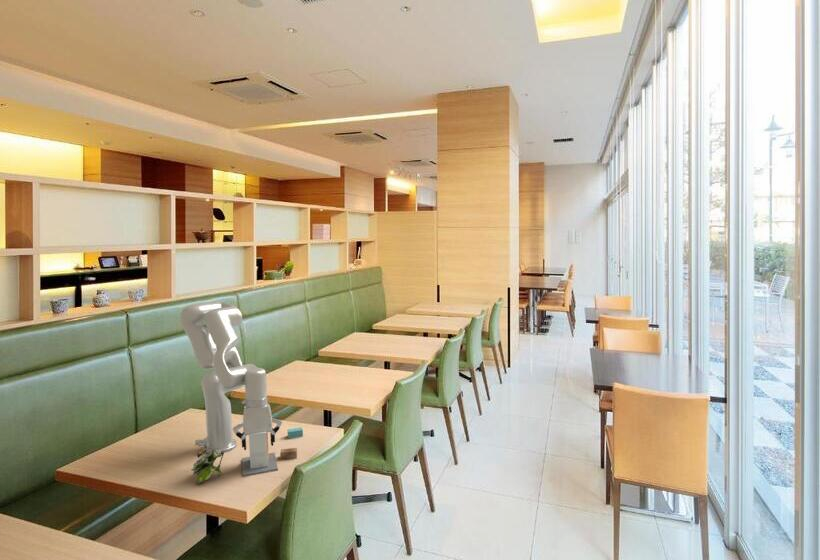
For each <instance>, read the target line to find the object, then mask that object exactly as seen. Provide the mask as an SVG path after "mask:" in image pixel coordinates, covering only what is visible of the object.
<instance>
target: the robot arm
mask: <svg viewBox="0 0 820 560" xmlns="http://www.w3.org/2000/svg"><path fill="white" fill-rule="evenodd" d="M179 319H180V323H181V327H182V329H183V331H184V332H185V335H187V338H188V339H189V341H190V343H191V346H192V349H193V353H194V355H195V359H196V361H197V363H198V365H199V367H200V368H201V369H202V370H206V371H207V370H213V371H209V372H208V373H206V374H204V376H203V377H202V378H201V382H200V384H201V386H200V387H201V389H202V392H203V393H202V394H203V397H204V399H203V400H204V406H205V421H206V422H205V423H206V425H205V426H206V437H204V438H203V439H195V441H194V442H195V446H197V447H202V446H203V450H206V449H207V451H206V452H205V453H206V454H207V453H209V452H211V451H212V450H215V451H216V454H218V453H219V452H220V451H222V450H223V452H224V453H226V452H229V451H231V450H233V449H234V448H236V446H237V445H238V443H237V442H238V441H237V440H236V439H235V438H233V433H234V434H235V435H236V437H238V438H239V439H240V440H241V448H243V450H244V451H246V450H247V440H246V439H247V436H249V434H252V433H258V432H266V431H267V432H268V433H269V434H270V444H271V446H272V447H273V446H274V443H276V439H275V438H276V433H277V432H279V430H280V428H281V426H282V423H283V422H282V420H279V419H277V418H274V417H272V409H271V405H270V403H269V402H268V392H267V391H268V388H267V387H268V386H267V371H266V369H264V368H263V367H257V366H256V365H255V364H253V363H247V364H243V362H242V359H241V357H240V354H239V351H238V348H237V347H236V346H237V345H238V344H239V342H240V341H239V340H240V339H239V337H238V334H237V332H236V331H235V328H236V327H239V326H240V325H241V324H242V322H243V314H242V312H241V310H240V309H239V308H238V307H237V306H235V305H233V304H230V303H228V302H225V301H222V300H215V301H206V302H197V303H193V304H189V305H186V306H185V307H183V308H182V310H181V311H180V318H179ZM202 324H205V326H203V325H202ZM234 327H235V328H234ZM243 387H244V388H245V389H244V392H245V398H244V400H241V405H244V408H243V413H242V414H243V416H242V420H243V421H241V422H240V423H238V424H237V425H236V426H234V427H233V420H232V419H233V418H232V405H231V401H230V399H229V398H228V397H227V396H226V395H225V394H226V393H230V392H231V391H232V392H233V391H234V390H235V391H236V390H239V389H241V388H243ZM273 424H276V426H275V427H274V428H273ZM241 428H242V433H241V431H239V430H240V429H241Z"/></svg>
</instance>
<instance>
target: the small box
mask: <svg viewBox="0 0 820 560" xmlns="http://www.w3.org/2000/svg"><path fill="white" fill-rule="evenodd" d="M268 433H269V432H267V431H266V432H258V433H252V434H249V435H248V441H249V442H248V443H249V457H250V468H251V469H252V468H260V467H267V466H268V457H269V455H268V453H269V435H268Z"/></svg>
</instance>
